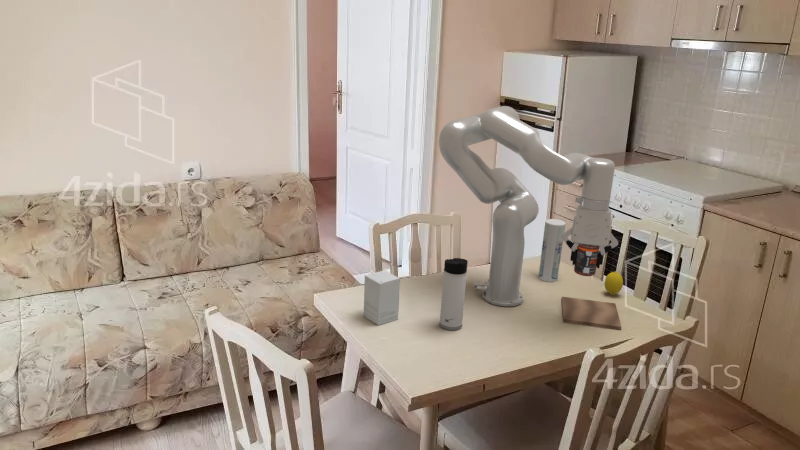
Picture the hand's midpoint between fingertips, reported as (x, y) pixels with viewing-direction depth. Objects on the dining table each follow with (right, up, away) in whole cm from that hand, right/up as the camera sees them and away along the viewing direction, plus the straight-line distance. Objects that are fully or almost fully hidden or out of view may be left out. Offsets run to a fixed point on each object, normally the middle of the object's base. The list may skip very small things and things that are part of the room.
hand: (585, 264), depth 180 cm
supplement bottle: (0, -3, +1) cm, 3 cm away
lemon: (+15, -11, +25) cm, 31 cm away
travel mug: (-38, -17, -1) cm, 42 cm away
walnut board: (+4, -15, +10) cm, 19 cm away
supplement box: (-58, -15, +1) cm, 60 cm away
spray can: (-3, -7, +35) cm, 35 cm away
